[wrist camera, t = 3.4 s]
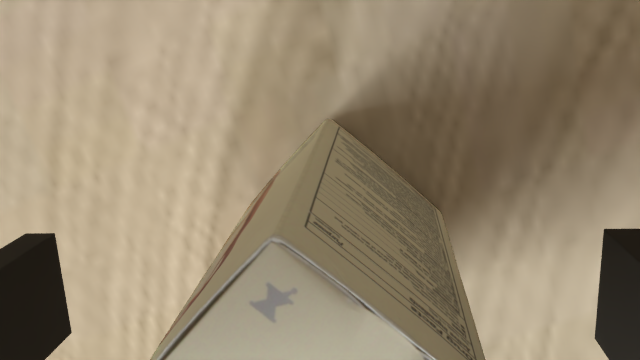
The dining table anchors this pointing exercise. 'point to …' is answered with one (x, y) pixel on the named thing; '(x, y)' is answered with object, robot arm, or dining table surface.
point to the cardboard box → (330, 270)
